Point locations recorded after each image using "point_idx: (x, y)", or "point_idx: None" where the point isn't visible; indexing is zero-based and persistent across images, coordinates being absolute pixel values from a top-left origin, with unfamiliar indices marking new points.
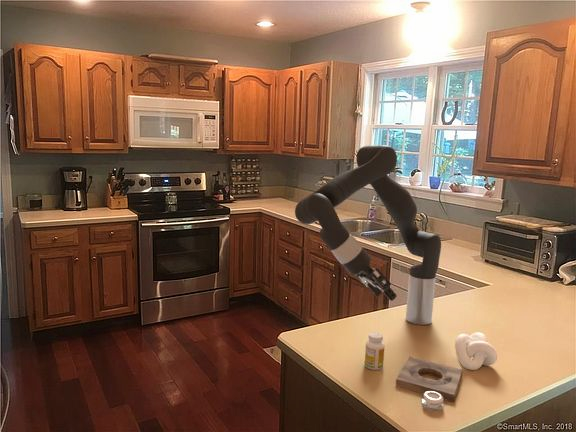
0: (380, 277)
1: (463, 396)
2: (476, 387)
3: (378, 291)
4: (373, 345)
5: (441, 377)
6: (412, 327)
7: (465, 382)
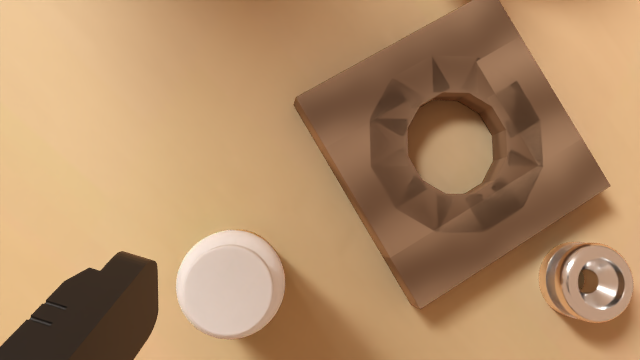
0: None
1: (580, 124)
2: (560, 27)
3: (132, 316)
4: (258, 326)
5: (475, 103)
6: None
7: (518, 31)
